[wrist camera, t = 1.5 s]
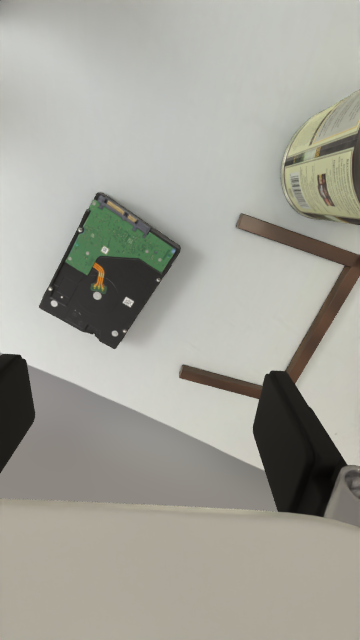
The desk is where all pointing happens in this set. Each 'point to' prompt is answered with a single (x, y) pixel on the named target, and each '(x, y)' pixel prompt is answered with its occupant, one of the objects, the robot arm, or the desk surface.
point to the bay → (323, 320)
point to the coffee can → (326, 164)
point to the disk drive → (108, 271)
